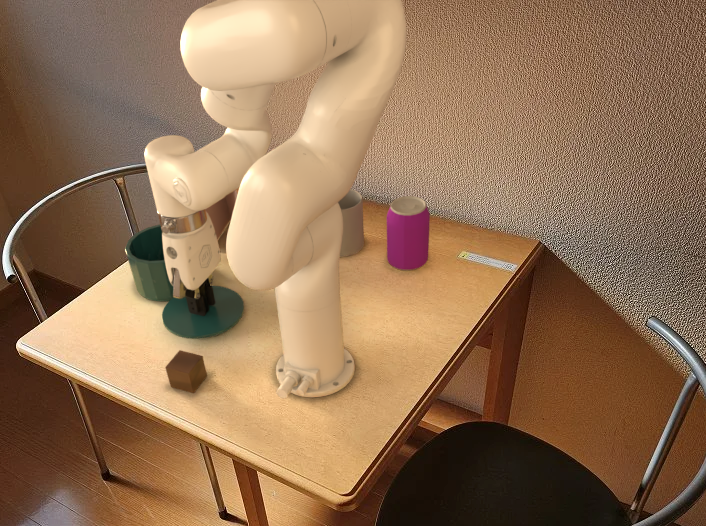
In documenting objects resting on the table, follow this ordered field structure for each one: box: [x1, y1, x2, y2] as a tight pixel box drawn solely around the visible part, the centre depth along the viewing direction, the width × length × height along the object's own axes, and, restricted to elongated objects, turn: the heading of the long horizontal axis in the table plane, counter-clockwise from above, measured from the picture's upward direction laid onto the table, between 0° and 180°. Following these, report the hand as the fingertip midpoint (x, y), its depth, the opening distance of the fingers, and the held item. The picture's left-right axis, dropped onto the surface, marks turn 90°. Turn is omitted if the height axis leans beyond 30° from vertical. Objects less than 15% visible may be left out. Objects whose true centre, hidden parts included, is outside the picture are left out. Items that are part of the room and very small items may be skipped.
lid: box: [161, 282, 245, 340], centre depth 128 cm, size 15×15×7 cm
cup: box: [338, 188, 365, 257], centre depth 141 cm, size 8×8×10 cm
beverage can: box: [386, 195, 431, 272], centre depth 134 cm, size 8×8×12 cm
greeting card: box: [206, 189, 238, 241], centre depth 146 cm, size 11×7×15 cm, turn 164°
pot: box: [124, 223, 174, 302], centre depth 139 cm, size 14×14×8 cm
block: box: [165, 349, 208, 394], centre depth 118 cm, size 4×4×4 cm
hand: (202, 307), depth 129 cm, fingers closed on lid, 2 cm apart
